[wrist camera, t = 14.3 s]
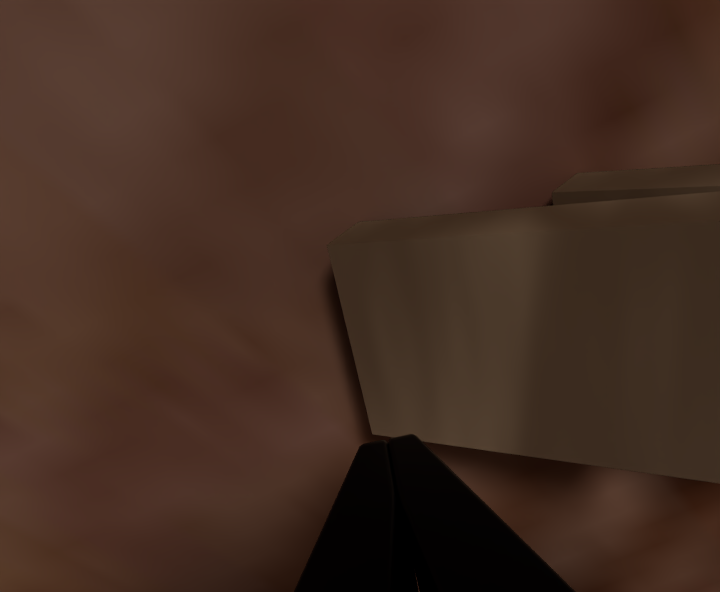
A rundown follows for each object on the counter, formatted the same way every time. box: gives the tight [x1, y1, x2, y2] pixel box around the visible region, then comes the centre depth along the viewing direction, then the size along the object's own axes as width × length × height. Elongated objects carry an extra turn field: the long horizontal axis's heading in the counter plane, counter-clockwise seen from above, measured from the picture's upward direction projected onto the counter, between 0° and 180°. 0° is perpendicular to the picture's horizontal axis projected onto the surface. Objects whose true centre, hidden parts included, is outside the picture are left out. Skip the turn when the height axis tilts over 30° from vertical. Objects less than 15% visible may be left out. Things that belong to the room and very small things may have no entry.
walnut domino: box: [327, 191, 720, 483], centre depth 10 cm, size 2×5×8 cm
